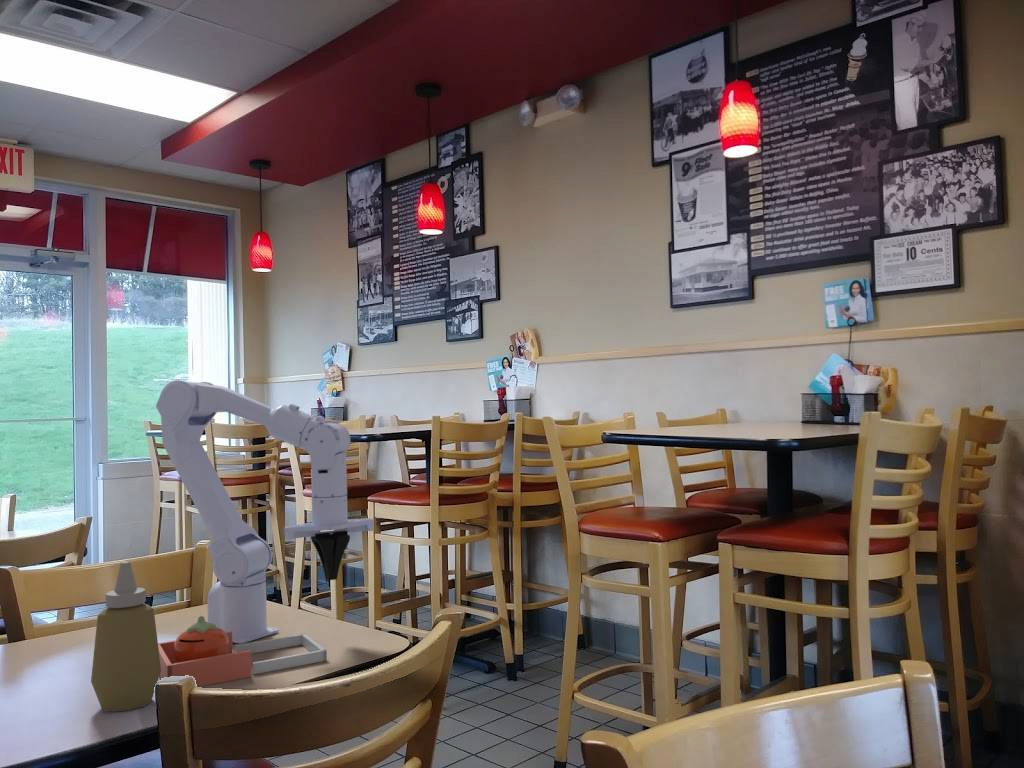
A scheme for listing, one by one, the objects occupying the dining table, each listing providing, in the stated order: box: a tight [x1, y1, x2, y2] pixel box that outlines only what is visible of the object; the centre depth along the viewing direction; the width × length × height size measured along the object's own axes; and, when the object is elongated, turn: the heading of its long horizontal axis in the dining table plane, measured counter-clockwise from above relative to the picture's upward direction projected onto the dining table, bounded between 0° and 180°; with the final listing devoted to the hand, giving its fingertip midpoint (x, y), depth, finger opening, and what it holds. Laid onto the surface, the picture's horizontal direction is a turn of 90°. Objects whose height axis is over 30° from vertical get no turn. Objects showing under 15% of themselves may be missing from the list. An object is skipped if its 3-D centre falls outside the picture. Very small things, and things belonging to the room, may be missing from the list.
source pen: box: [235, 633, 328, 675], centre depth 120 cm, size 11×11×2 cm
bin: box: [158, 631, 252, 687], centre depth 114 cm, size 11×13×4 cm
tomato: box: [174, 615, 229, 663], centre depth 114 cm, size 7×7×8 cm
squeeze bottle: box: [90, 561, 161, 712], centre depth 102 cm, size 8×8×18 cm
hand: (331, 578), depth 131 cm, fingers closed
